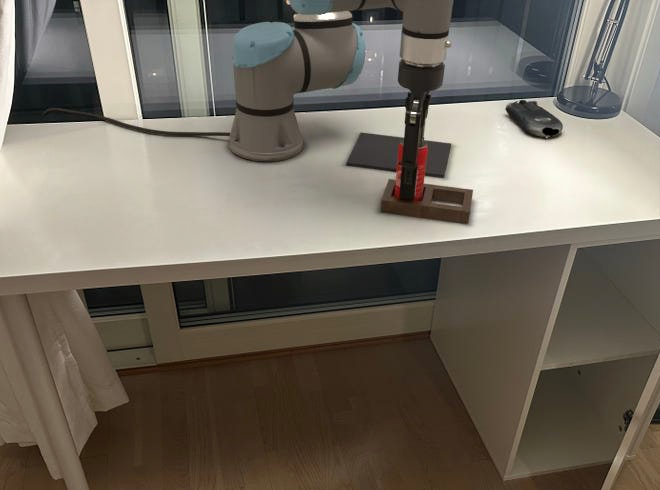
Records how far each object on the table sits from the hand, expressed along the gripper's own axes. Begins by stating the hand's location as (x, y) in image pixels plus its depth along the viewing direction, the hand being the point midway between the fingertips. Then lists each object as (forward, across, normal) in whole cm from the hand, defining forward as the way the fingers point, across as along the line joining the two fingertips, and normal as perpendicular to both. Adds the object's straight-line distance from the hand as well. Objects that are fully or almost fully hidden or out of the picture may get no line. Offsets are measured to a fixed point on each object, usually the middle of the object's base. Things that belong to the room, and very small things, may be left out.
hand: (408, 190), depth 130 cm
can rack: (+3, 0, -4) cm, 5 cm away
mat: (+3, +21, +4) cm, 22 cm away
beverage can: (+3, 0, 0) cm, 3 cm away
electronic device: (+3, +46, -24) cm, 52 cm away
